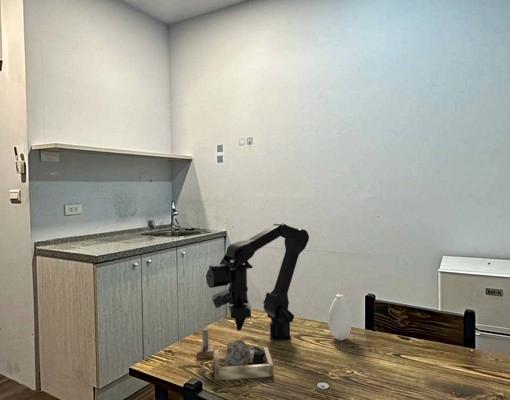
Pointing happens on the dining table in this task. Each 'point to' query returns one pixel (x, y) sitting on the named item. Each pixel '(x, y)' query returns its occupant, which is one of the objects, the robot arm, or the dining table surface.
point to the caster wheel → (242, 354)
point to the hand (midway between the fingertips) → (238, 330)
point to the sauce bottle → (340, 318)
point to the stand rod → (205, 347)
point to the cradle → (244, 369)
